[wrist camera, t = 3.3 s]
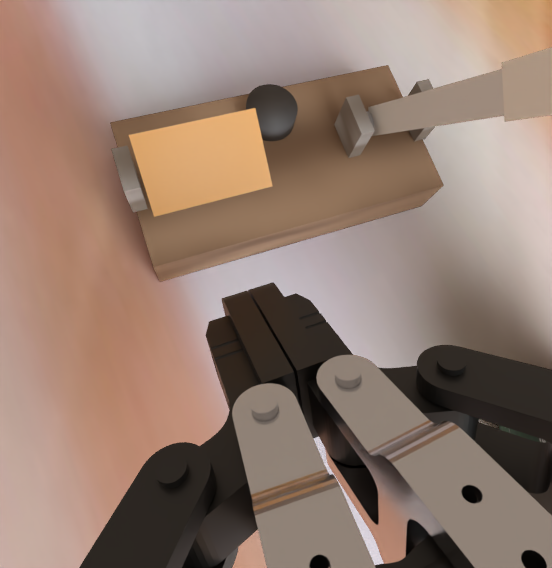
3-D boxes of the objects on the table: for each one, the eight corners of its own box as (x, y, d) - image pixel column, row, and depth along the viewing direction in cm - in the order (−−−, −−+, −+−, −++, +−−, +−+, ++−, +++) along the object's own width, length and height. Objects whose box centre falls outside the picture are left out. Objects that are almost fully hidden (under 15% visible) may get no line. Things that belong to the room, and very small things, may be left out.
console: (423, 205, 30) (469, 163, 24) (156, 282, 26) (141, 252, 20) (374, 95, 31) (406, 33, 26) (117, 152, 27) (95, 93, 22)
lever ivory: (409, 129, 27) (640, 93, 14) (363, 141, 26) (563, 113, 14) (405, 95, 26) (642, 26, 14) (358, 106, 25) (562, 43, 13)
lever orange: (206, 178, 24) (272, 186, 12) (148, 192, 23) (154, 217, 11) (196, 141, 23) (255, 107, 11) (137, 154, 23) (128, 135, 10)
